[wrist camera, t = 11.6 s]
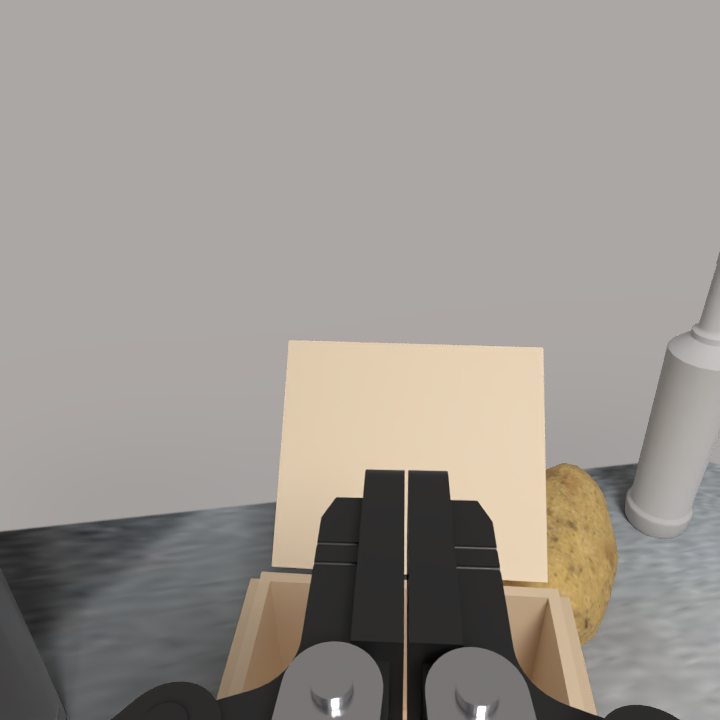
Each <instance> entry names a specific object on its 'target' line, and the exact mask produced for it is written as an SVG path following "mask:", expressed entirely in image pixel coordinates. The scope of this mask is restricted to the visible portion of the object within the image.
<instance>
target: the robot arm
mask: <svg viewBox="0 0 720 720" xmlns="http://www.w3.org/2000/svg"><path fill="white" fill-rule="evenodd" d="M404 522H405V470H374V469H366V471H365V479H364V491H363V498H350V497H336V498H335V499H334V501H333V502H332V503H331V505H330V506H329V507H328V509H327V510H326V512H325V513H324V514H323V516H322V517H321V522H320V528H319V534H318V540H317V546H316V552H315V558H314V566H313V570H312V576H311V583H310V589H309V595H308V601H307V607H306V613H305V619H304V625H303V631H302V637H301V642H300V646H299V649H298V651H297V653H296V656H295V657H294V659H293V660H292V662H291V663H290V665H289V666H288V667H287V668H286V669H285V671H283V672H282V673H281V674H280V675H279V676H278V677H276V678H275V679H274V680H272V681H271V682H269V683H267V684H265V685H263V686H261V687H259V688H256V689H253V690H250V691H247V692H243V693H240V694H236V695H233V696H229V697H225V698H222V699H218V700H216V699H215V698H214V697H213V696H212V694H211V693H210V692H209V691H207V690H206V689H205V688H203V687H201V686H199V685H197V684H193V683H190V682H172V683H167V684H163V685H160V686H158V687H155V688H153V689H151V690H149V691H147V692H145V693H144V694H143V695H141V696H140V697H138V698H137V699H136V700H135V701H133V702H132V703H131V704H130V705H128V706H127V707H126V708H125V709H124V710H122V711H121V712H120V713H119V714H117V715H116V716H115V717H114V718H112V719H111V720H403V674H404ZM0 720H66V714H65V711H64V708H63V705H62V703H61V701H60V698H59V696H58V694H57V692H56V690H55V687H54V685H53V683H52V681H51V679H50V676H49V674H48V671H47V669H46V667H45V665H44V662H43V660H42V658H41V656H40V654H39V651H38V649H37V647H36V645H35V643H34V640H33V638H32V636H31V634H30V632H29V629H28V627H27V625H26V623H25V621H24V618H23V616H22V614H21V612H20V610H19V607H18V605H17V603H16V601H15V599H14V596H13V594H12V592H11V590H10V588H9V585H8V583H7V581H6V579H5V577H4V574H3V572H2V570H1V568H0ZM407 720H679V719H678V718H676V717H674V716H673V715H671V714H669V713H667V712H664V711H662V710H660V709H656V708H653V707H650V706H643V705H629V706H624V707H620V708H618V709H615V710H614V711H612V712H611V713H609V714H608V715H607V716H606V717H605V718H602V717H599V716H596V715H593V714H591V713H588V712H585V711H582V710H580V709H577V708H574V707H571V706H569V705H566V704H564V703H561V702H559V701H557V700H555V699H553V698H552V697H550V696H548V695H547V694H545V693H544V692H543V691H541V690H540V689H539V688H538V687H537V686H535V685H534V684H533V683H532V682H531V681H530V679H529V678H528V677H527V676H526V674H525V673H524V672H523V670H522V668H521V667H520V665H519V663H518V661H517V658H516V656H515V652H514V648H513V642H512V635H511V629H510V623H509V617H508V611H507V605H506V599H505V593H504V587H503V581H502V575H501V572H500V563H499V557H498V551H497V545H496V539H495V533H494V527H493V522H492V520H491V519H490V517H489V516H488V515H487V513H486V512H485V510H484V509H483V508H482V506H481V505H480V503H479V502H478V501H474V500H451V499H450V488H449V476H448V471H426V470H408V505H407Z"/></svg>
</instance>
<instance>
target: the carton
mask: <svg viewBox="0 0 720 720" xmlns="http://www.w3.org/2000/svg"><path fill="white" fill-rule="evenodd" d="M311 576H312V575H311V574H294V573H277V572H262V573H261V576H260V579H252V578H251V579H250V583H249V586H248V590H247V593H246V597H245V600H244V604H243V607H242V611H241V614H240V618H239V621H238V625H237V628H236V632H235V635H234V639H233V642H232V646H231V649H230V653H229V656H228V660H227V663H226V667H225V670H224V674H223V677H222V681H221V684H220V688H219V691H218V695H217V698H216V700H218V699H222V698H225V697H229V696H233V695H236V694H240V693H243V692H247V691H250V690H253V689H256V688H259V687H261V686H263V685H265V684H267V683H269V682H271V681H272V680H274V679H275V678H276V677H278V676H279V675H280V674H281V673H282V672H283V671H285V669H286V668H287V667H288V666H289V665H290V663H291V662H292V660H293V659H294V657H295V656H296V653H297V651H298V649H299V646H300V642H301V637H302V631H303V625H304V619H305V613H306V607H307V601H308V595H309V589H310V583H311ZM503 587H504V593H505V599H506V605H507V611H508V617H509V623H510V629H511V635H512V642H513V648H514V652H515V656H516V658H517V661H518V663H519V665H520V667H521V668H522V670H523V672H524V673H525V674H526V676H527V677H528V678H529V679H530V681H531V682H532V683H533V684H534V685H535V686H537V687H538V688H539V689H540V690H541V691H543V692H544V693H545V694H547V695H548V696H550V697H552V698H553V699H555V700H557V701H559V702H561V703H564V704H566V705H569V706H571V707H574V708H577V709H580V710H582V711H585V712H588V713H591V714H593V715H596V716H597V713H596V709H595V704H594V700H593V696H592V692H591V687H590V683H589V679H588V674H587V670H586V666H585V662H584V657H583V653H582V649H581V645H580V640H579V636H578V632H577V628H576V623H575V619H574V615H573V610H572V606H571V602H570V598H569V597H560V596H559V591H558V589H549V588H532V587H515V586H503ZM403 720H407V580H404V674H403Z"/></svg>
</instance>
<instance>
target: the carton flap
mask: <svg viewBox="0 0 720 720" xmlns="http://www.w3.org/2000/svg"><path fill="white" fill-rule="evenodd" d="M543 362H544V360H543V348H539V347H536V348H535V347H504V346H501V347H500V346H469V345H434V344H399V343H397V344H396V343H364V342H329V341H295V340H294V341H293V340H289V349H288V362H287V374H286V375H287V376H286V387H285V388H286V389H285V400H284V413H283V426H282V439H281V440H282V441H281V452H280V465H279V478H278V479H279V480H278V491H277V504H276V516H275V529H274V542H273V555H272V567H288V568H305V569H313V566H314V558H315V552H316V546H317V540H318V534H319V528H320V522H321V517H322V516H323V514H324V513H325V512H326V510H327V509H328V507H329V506H330V505H331V503H332V502H333V501H334V499H335V498H336V497H350V498H363V491H364V479H365V471H366V469H374V470H405V522H404V574H407V505H408V470H426V471H448V476H449V488H450V499H451V500H474V501H478V502H479V503H480V505H481V506H482V508H483V509H484V510H485V512H486V513H487V515H488V516H489V517H490V519H491V520H492V522H493V527H494V533H495V539H496V545H497V551H498V557H499V563H500V572H501V575H502V580H512V581H529V582H546V583H548V572H547V518H546V469H545V468H546V467H545V466H546V465H545V413H544V412H545V411H544V363H543Z"/></svg>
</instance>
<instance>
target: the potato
mask: <svg viewBox="0 0 720 720" xmlns="http://www.w3.org/2000/svg"><path fill="white" fill-rule="evenodd" d="M546 518H547V572H548V583H546V582H529V581H512V580H502V581H503V586H515V587H532V588H549V589H558V591H559V596H560V597H569V598H570V602H571V606H572V610H573V615H574V619H575V623H576V628H577V632H578V636H579V640H580V645H581V646H583V645H584V644H585V643H586V642H588V641H589V640H590V639H591V638H592V637H594V636H595V634H596V632H597V629H598V627H599V625H600V623H601V621H602V619H603V616H604V613H605V610H606V607H607V604H608V601H609V598H610V595H611V591H612V587H613V583H614V579H615V574H616V569H617V563H618V558H619V557H618V552H617V546H616V541H615V535H614V532H613V528H612V525H611V521H610V517H609V513H608V509H607V504H606V501H605V498H604V496H603V494H602V491H601V490H600V488H599V487H598V486H597V484H596V483H595V481H594V480H593V478H592V477H591V476H590V475H589V474H587V473H586V472H585V471H583V470H582V469H581V468H579V467H578V466H575V465H571V464H566V463H564V464H559V465H557V466H555V467H552V468H550V469H547V470H546Z"/></svg>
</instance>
